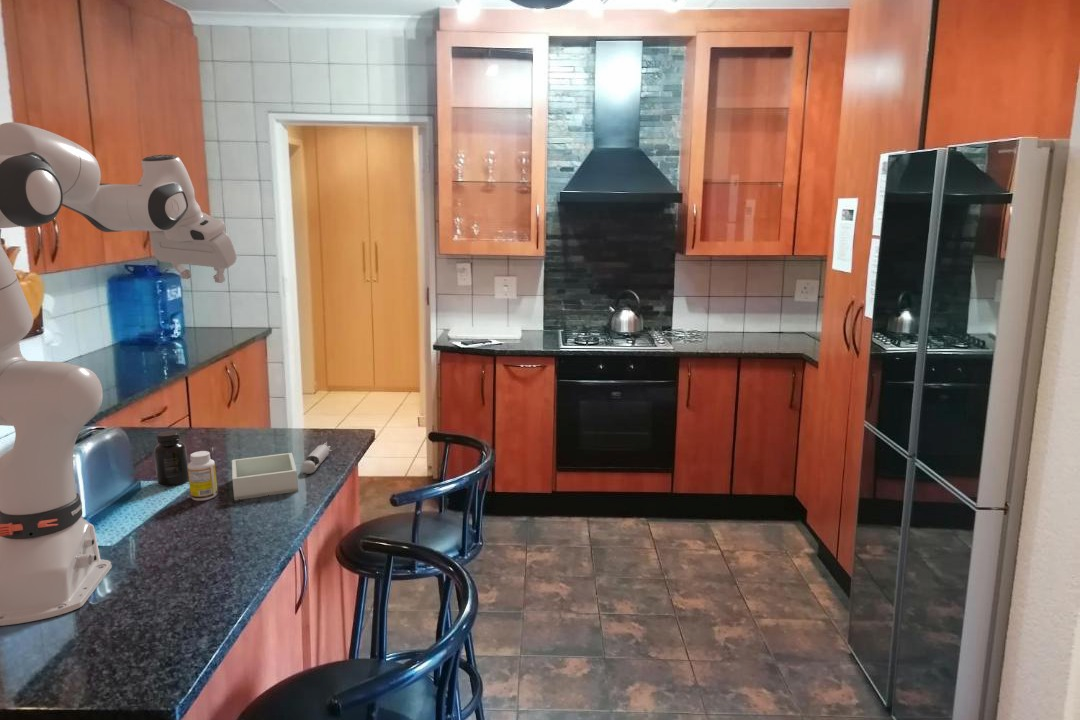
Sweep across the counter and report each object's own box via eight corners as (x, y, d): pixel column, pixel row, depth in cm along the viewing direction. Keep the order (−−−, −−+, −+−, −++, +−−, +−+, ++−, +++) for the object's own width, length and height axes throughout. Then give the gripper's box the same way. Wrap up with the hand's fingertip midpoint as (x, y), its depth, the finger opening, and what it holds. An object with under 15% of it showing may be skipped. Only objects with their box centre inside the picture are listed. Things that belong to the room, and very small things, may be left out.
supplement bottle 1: (195, 477, 177) (190, 429, 175) (179, 487, 171) (173, 438, 168) (168, 476, 178) (163, 428, 176) (151, 486, 171) (145, 437, 169)
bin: (298, 491, 168) (296, 470, 167) (234, 500, 163) (232, 479, 162) (293, 472, 181) (292, 452, 180) (233, 479, 176) (231, 459, 175)
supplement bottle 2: (204, 490, 169) (199, 448, 167) (223, 494, 167) (219, 451, 165) (185, 499, 164) (180, 456, 162) (204, 503, 162) (200, 459, 160)
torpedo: (317, 476, 179) (315, 450, 177) (297, 476, 178) (295, 450, 177) (336, 452, 196) (334, 428, 195) (318, 452, 196) (316, 428, 195)
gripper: (136, 227, 165) (158, 281, 173) (213, 235, 160) (231, 290, 167) (155, 216, 170) (175, 269, 178) (230, 222, 164) (248, 277, 172)
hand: (203, 279), depth 173 cm, fingers open, 8 cm apart
